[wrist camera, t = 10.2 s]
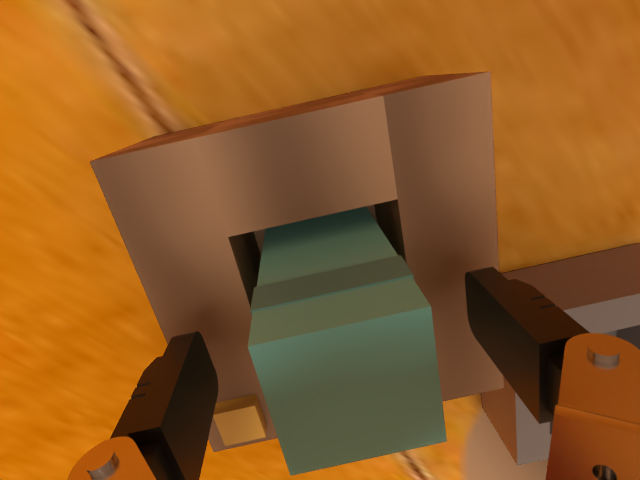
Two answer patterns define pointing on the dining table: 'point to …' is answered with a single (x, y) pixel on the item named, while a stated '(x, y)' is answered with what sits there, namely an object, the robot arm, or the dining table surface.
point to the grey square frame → (585, 308)
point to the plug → (343, 344)
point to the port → (310, 202)
